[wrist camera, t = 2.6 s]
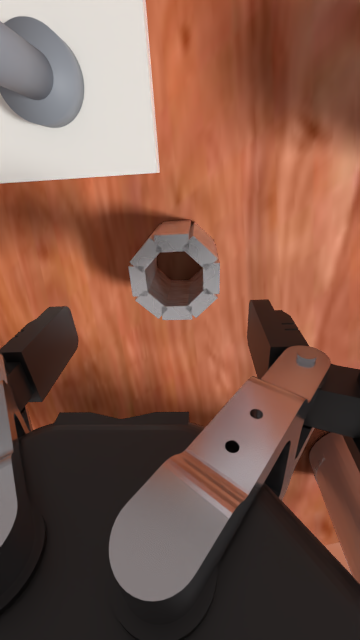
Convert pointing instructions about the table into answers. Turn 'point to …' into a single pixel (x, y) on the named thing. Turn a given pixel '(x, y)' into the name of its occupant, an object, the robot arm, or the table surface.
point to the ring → (176, 294)
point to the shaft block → (75, 90)
